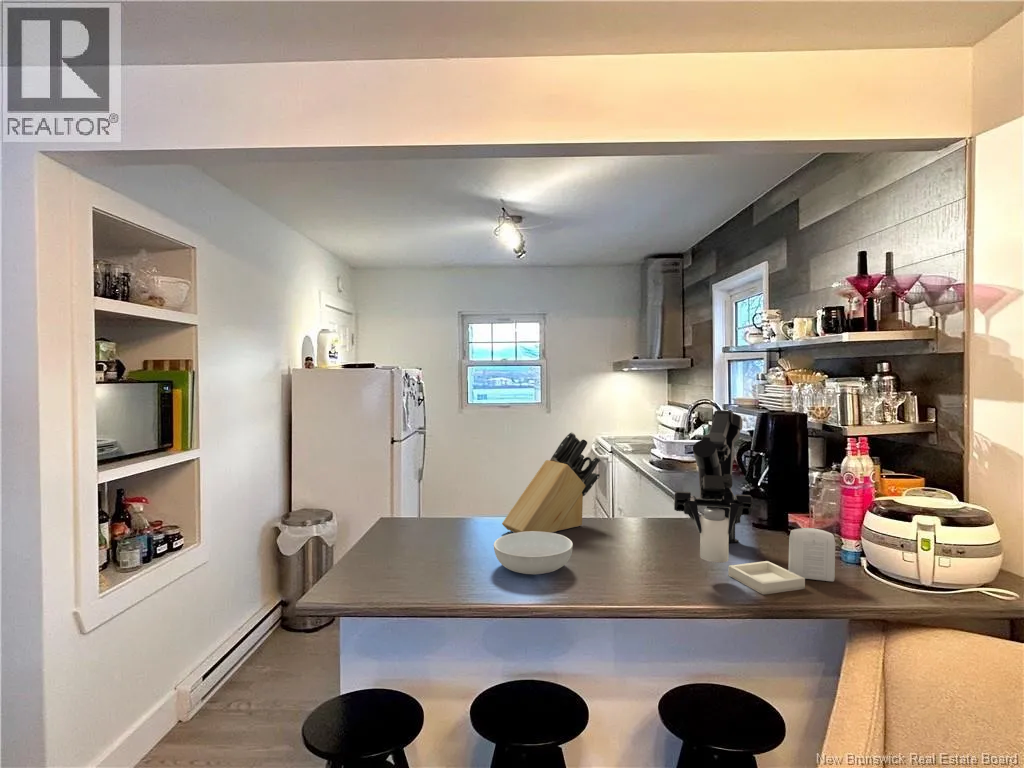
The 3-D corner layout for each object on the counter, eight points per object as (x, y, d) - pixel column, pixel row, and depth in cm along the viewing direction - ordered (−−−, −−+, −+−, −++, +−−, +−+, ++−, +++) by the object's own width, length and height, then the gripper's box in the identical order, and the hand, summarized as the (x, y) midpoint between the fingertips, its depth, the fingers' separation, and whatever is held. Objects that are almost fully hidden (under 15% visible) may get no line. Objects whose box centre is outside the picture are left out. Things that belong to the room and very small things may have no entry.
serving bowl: (531, 549, 154) (531, 526, 154) (588, 568, 139) (588, 542, 139) (477, 568, 139) (477, 542, 139) (535, 591, 124) (535, 562, 124)
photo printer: (832, 576, 132) (832, 528, 132) (837, 583, 128) (837, 533, 128) (786, 572, 135) (787, 524, 135) (790, 578, 131) (790, 529, 131)
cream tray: (767, 570, 137) (767, 560, 136) (804, 588, 125) (804, 578, 125) (728, 575, 133) (728, 565, 133) (763, 594, 122) (763, 584, 122)
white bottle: (716, 552, 135) (717, 505, 135) (734, 561, 129) (734, 512, 128) (694, 554, 133) (694, 507, 133) (711, 563, 127) (711, 514, 126)
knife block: (603, 521, 181) (603, 432, 181) (522, 541, 161) (522, 441, 160) (580, 514, 191) (580, 429, 190) (501, 532, 170) (500, 437, 169)
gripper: (674, 460, 136) (676, 513, 126) (752, 463, 132) (760, 519, 121) (673, 484, 144) (674, 536, 134) (746, 487, 139) (754, 542, 129)
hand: (714, 533), depth 129 cm, fingers closed on white bottle, 7 cm apart
